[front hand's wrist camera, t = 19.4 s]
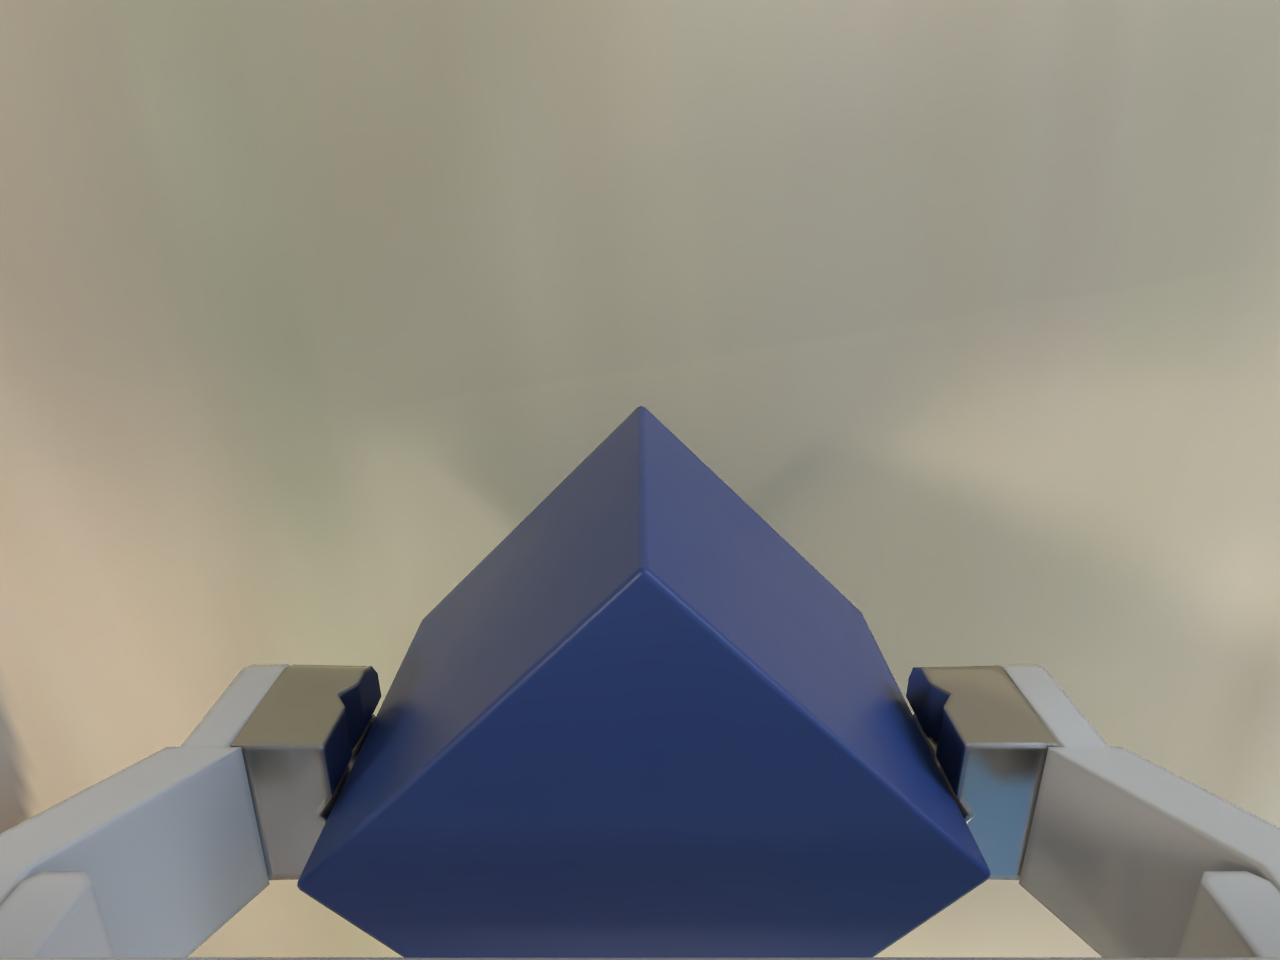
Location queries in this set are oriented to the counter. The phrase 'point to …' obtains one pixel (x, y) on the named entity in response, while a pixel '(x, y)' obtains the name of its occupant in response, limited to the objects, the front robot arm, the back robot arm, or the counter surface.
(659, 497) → the block
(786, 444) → the counter surface
